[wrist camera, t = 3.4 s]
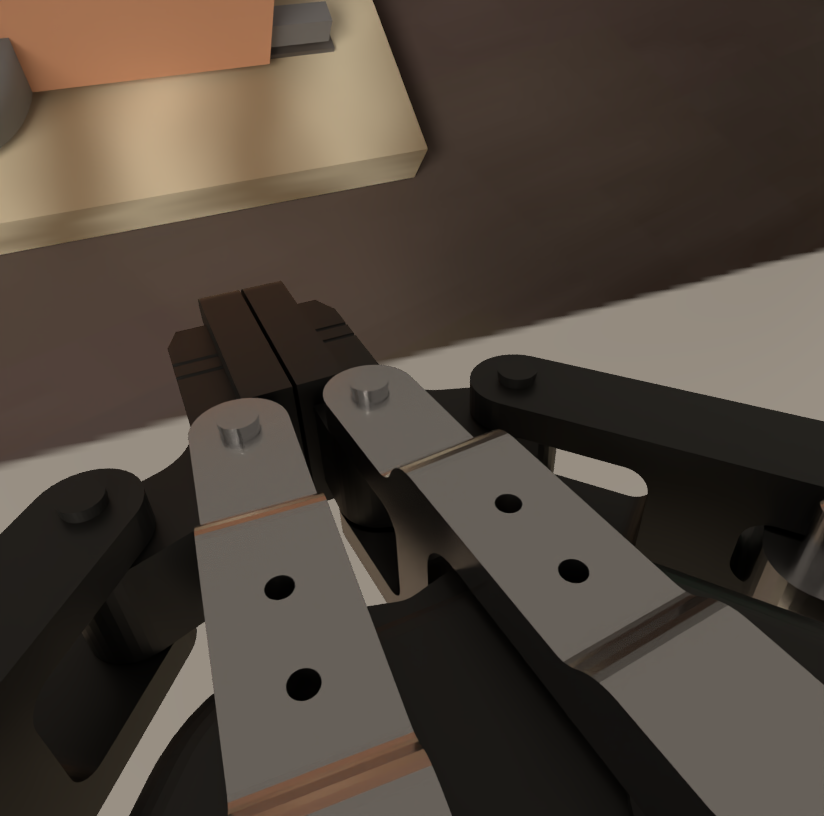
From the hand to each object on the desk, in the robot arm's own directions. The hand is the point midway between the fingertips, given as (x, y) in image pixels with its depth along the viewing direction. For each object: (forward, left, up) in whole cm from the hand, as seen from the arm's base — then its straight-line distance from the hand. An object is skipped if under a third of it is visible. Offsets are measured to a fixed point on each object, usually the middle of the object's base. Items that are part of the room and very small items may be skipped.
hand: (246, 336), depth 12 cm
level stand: (-14, +11, -12) cm, 21 cm away
